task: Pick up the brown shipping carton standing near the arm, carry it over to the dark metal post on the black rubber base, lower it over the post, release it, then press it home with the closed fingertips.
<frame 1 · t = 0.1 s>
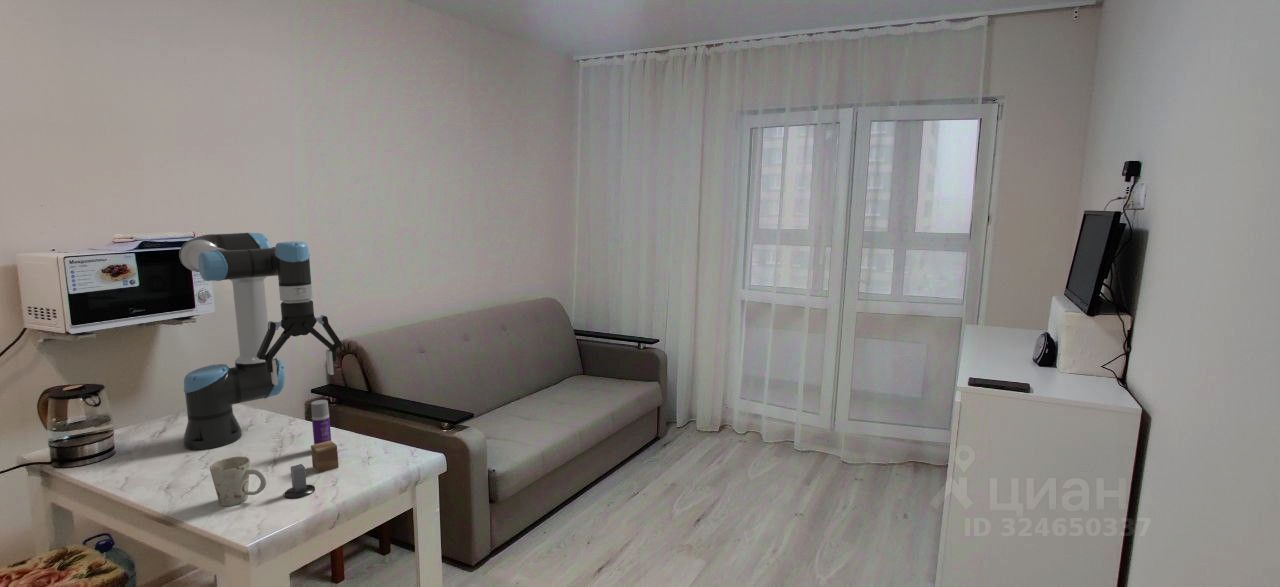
hand: (303, 378, 166), 28 cm above the table, fingers open, 13 cm apart
container: (323, 450, 188), on the table
brown shipping carton: (325, 467, 175), on the table
mug: (242, 501, 157), on the table
post: (299, 492, 161), on the table
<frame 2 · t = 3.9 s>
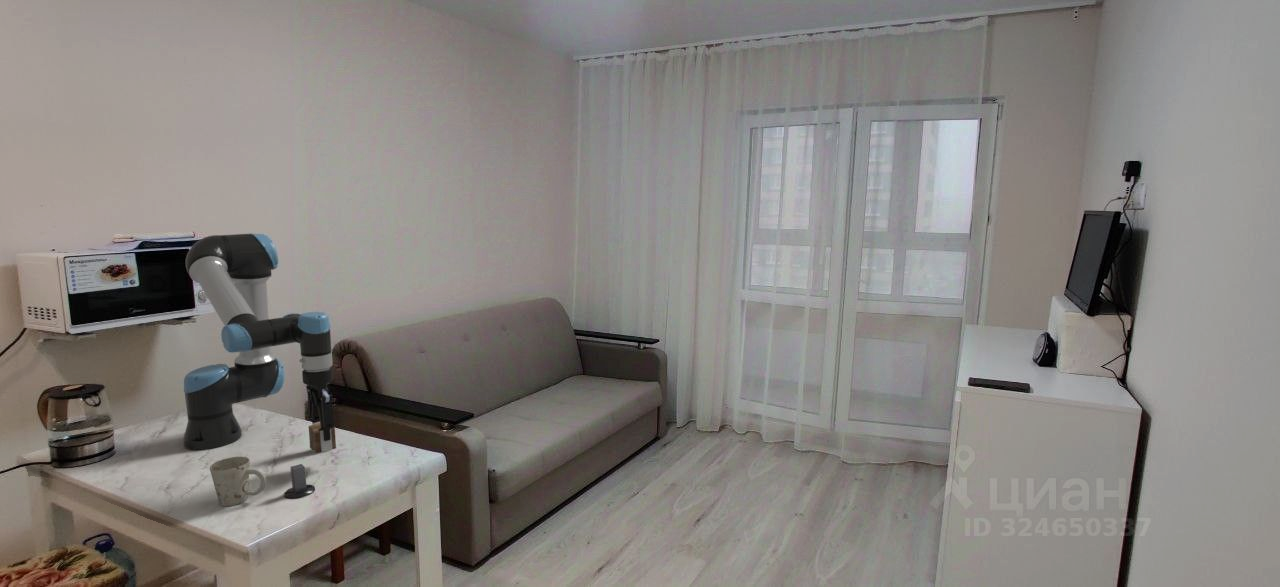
hand: (323, 447, 175), 6 cm above the table, fingers closed on brown shipping carton, 5 cm apart
brown shipping carton: (323, 448, 175), point 6 cm above the table, touching gripper
everything else where it was.
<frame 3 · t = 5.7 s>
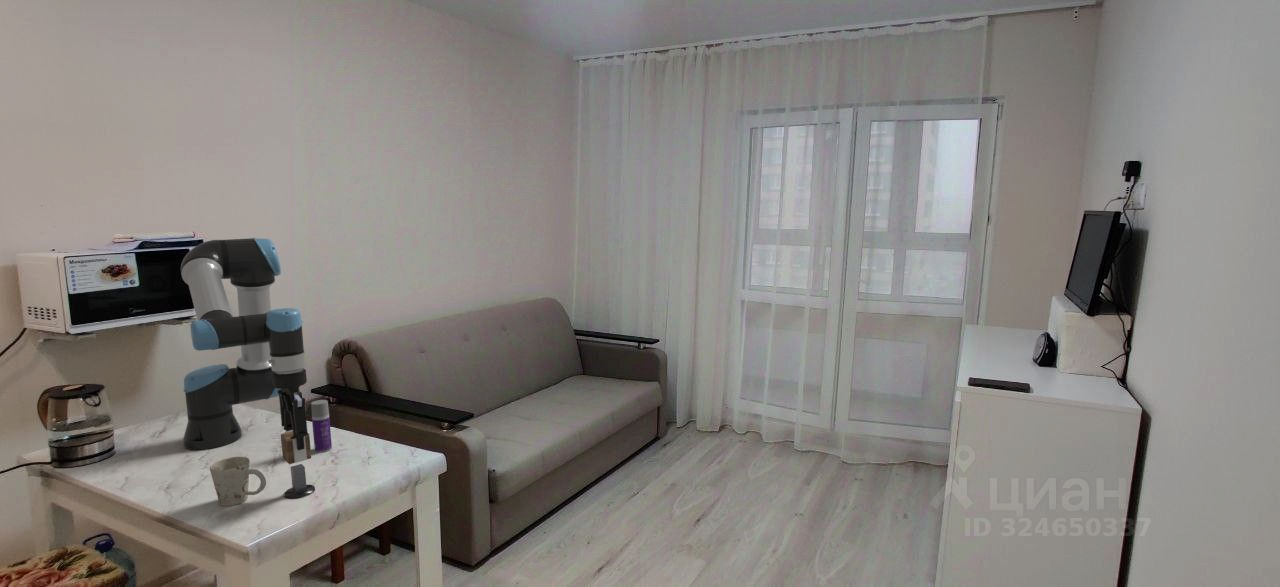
hand: (297, 457, 159), 10 cm above the table, fingers closed on brown shipping carton, 5 cm apart
brown shipping carton: (297, 458, 159), point 9 cm above the table, touching gripper
everything else where it was.
when the fingers open (1 cm above the table, at t = 7.4 s): brown shipping carton stays where it is, resting on post.
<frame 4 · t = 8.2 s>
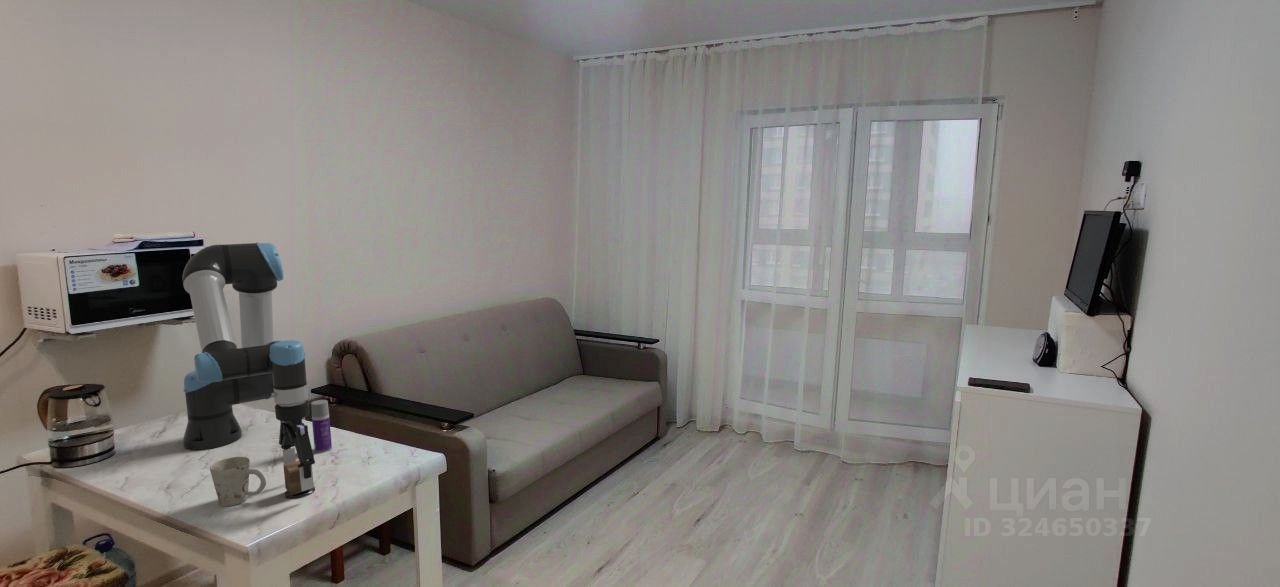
hand: (298, 480, 160), 3 cm above the table, fingers open, 13 cm apart
brown shipping carton: (299, 488, 161), point 1 cm above the table, touching post
everything else where it was.
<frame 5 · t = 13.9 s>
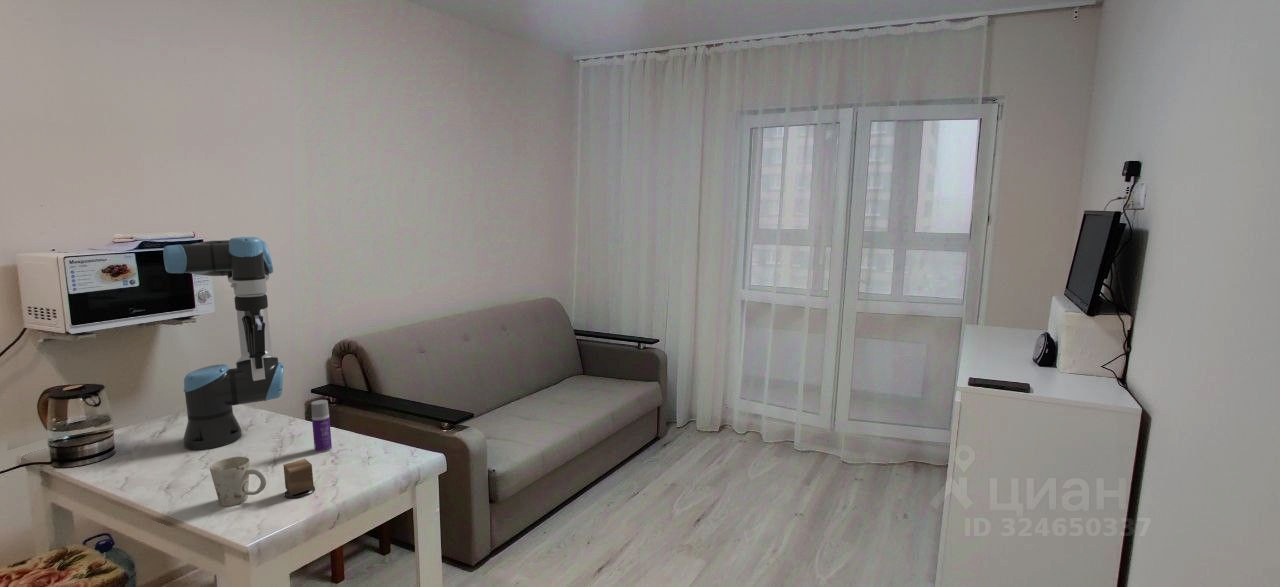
hand: (259, 379, 170), 26 cm above the table, fingers closed
nothing on the table moved.
at the end: brown shipping carton 0.0 cm from the post (horizontally); brown shipping carton point 1.0 cm above the table; brown shipping carton tilted 0° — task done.
